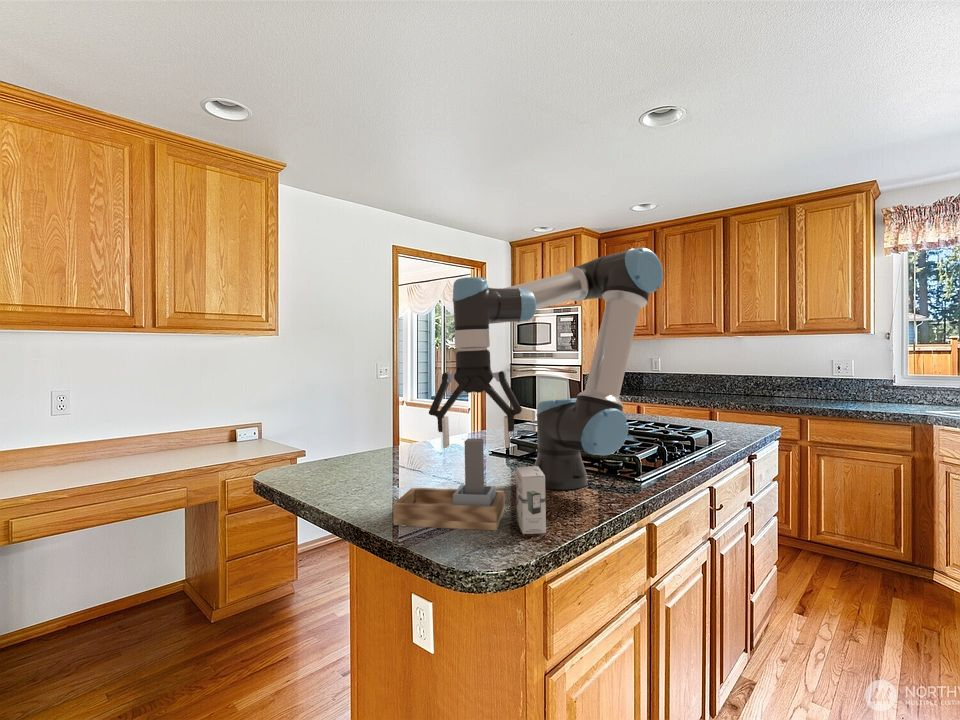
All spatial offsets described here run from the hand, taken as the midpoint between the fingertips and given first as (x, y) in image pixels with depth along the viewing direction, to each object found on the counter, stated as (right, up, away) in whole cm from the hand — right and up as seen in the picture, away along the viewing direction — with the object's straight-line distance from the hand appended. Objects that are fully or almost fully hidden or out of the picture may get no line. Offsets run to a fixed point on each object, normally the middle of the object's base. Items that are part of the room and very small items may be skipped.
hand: (476, 446), depth 110 cm
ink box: (+11, -16, -5) cm, 20 cm away
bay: (-6, -16, +1) cm, 17 cm away
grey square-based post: (0, -14, 0) cm, 14 cm away
